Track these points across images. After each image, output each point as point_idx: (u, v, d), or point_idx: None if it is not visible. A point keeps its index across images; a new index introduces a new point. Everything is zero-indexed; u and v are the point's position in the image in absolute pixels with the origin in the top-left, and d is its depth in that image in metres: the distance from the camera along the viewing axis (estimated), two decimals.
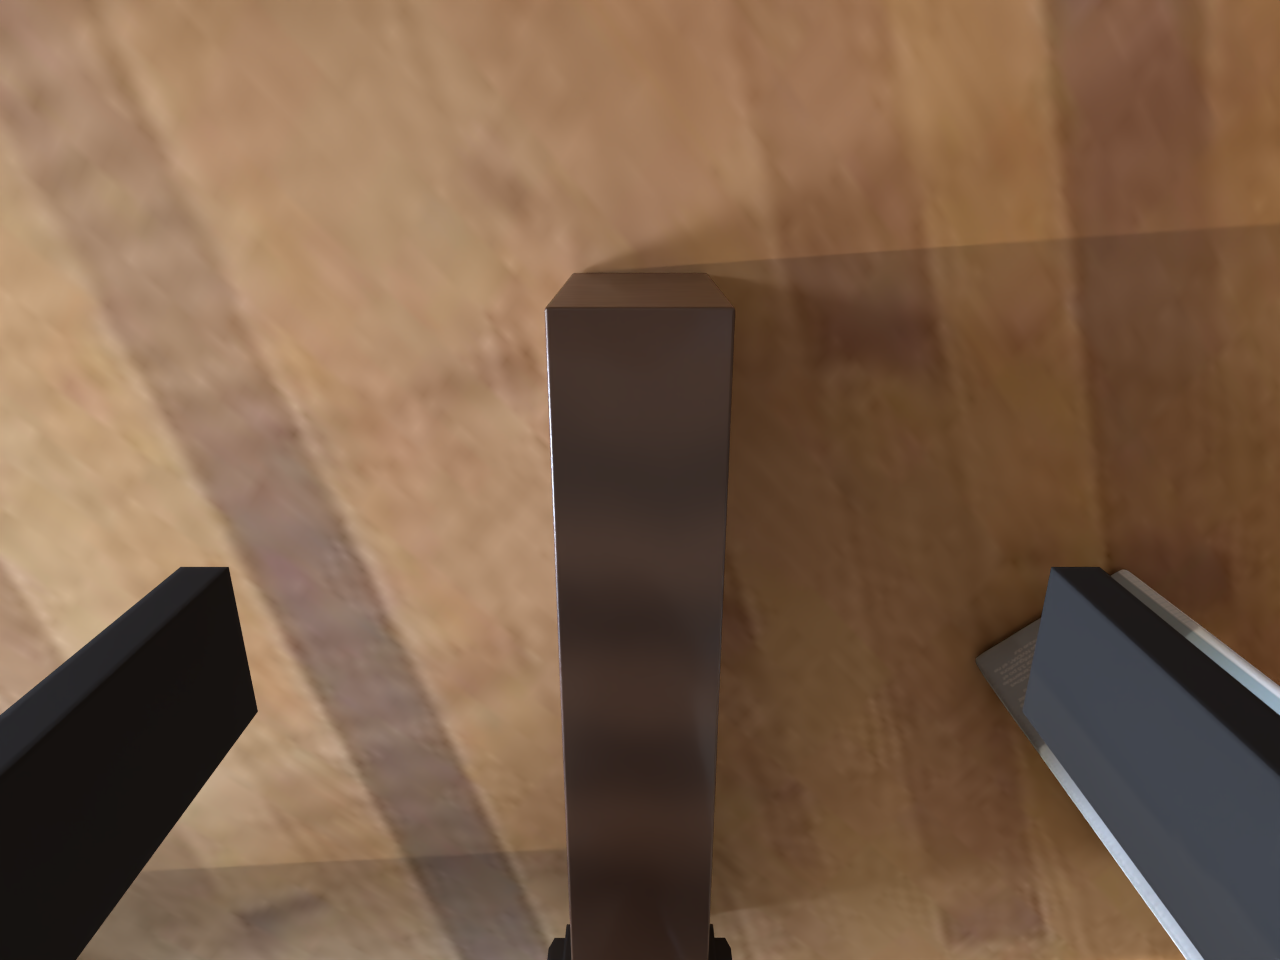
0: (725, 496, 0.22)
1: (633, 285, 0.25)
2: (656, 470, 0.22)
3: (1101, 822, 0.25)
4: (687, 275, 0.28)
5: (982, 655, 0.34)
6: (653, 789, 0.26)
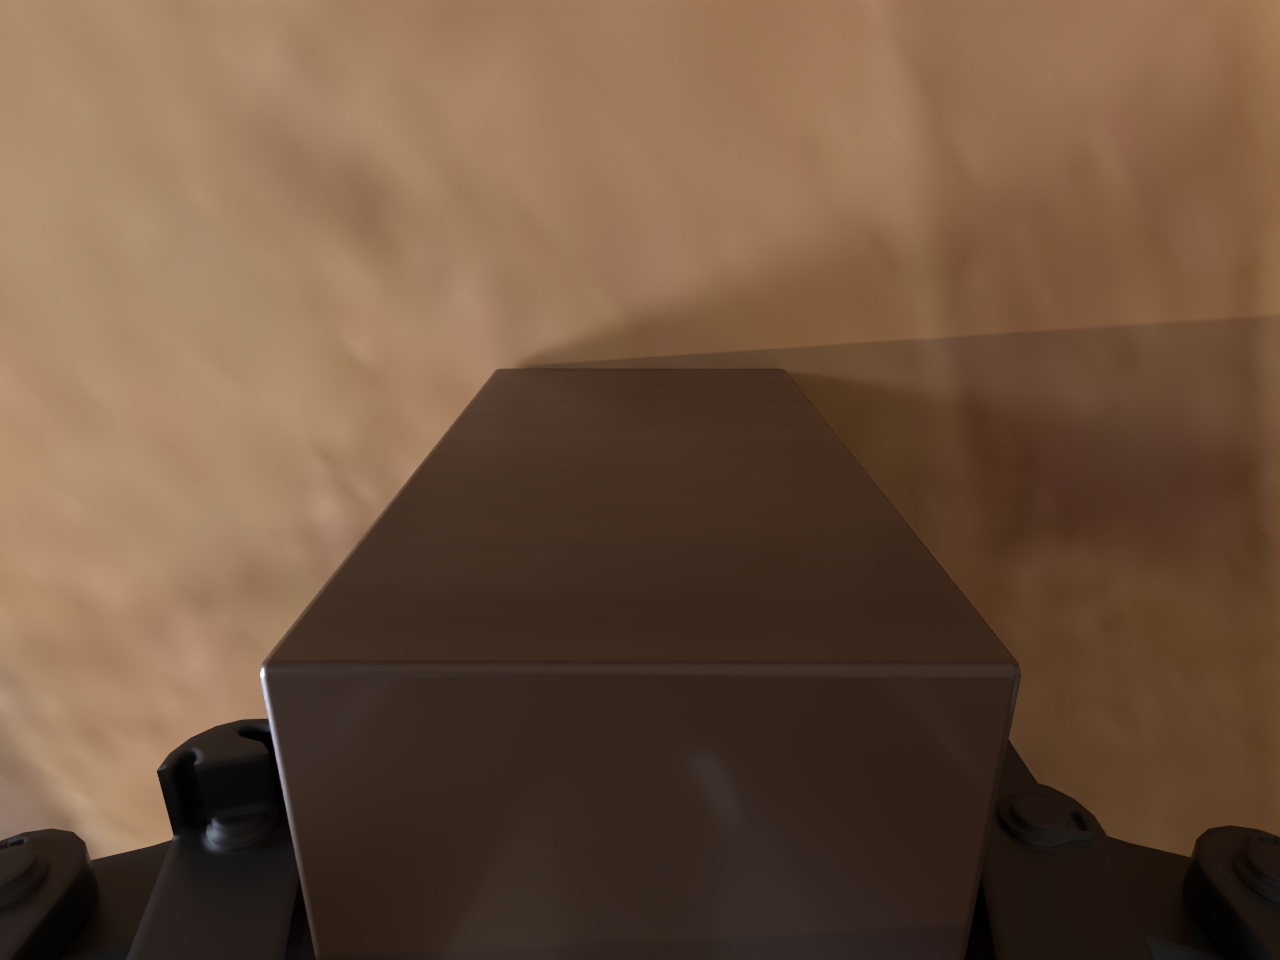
0: None
1: (623, 436, 0.10)
2: None
3: None
4: (746, 379, 0.13)
5: None
6: None
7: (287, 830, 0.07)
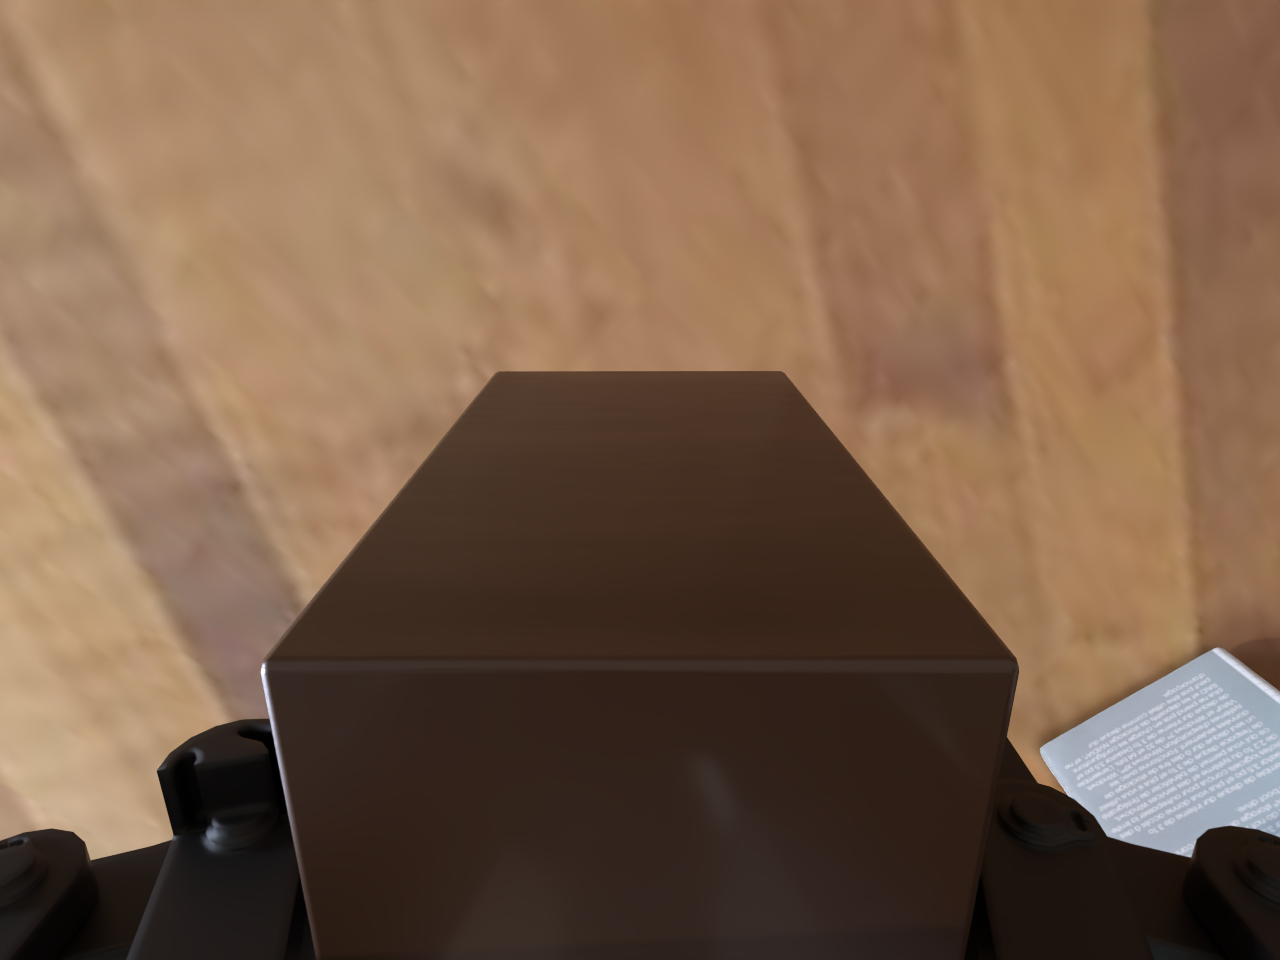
0: None
1: (623, 437, 0.10)
2: None
3: None
4: (745, 381, 0.13)
5: (1048, 745, 0.29)
6: None
7: (287, 830, 0.07)
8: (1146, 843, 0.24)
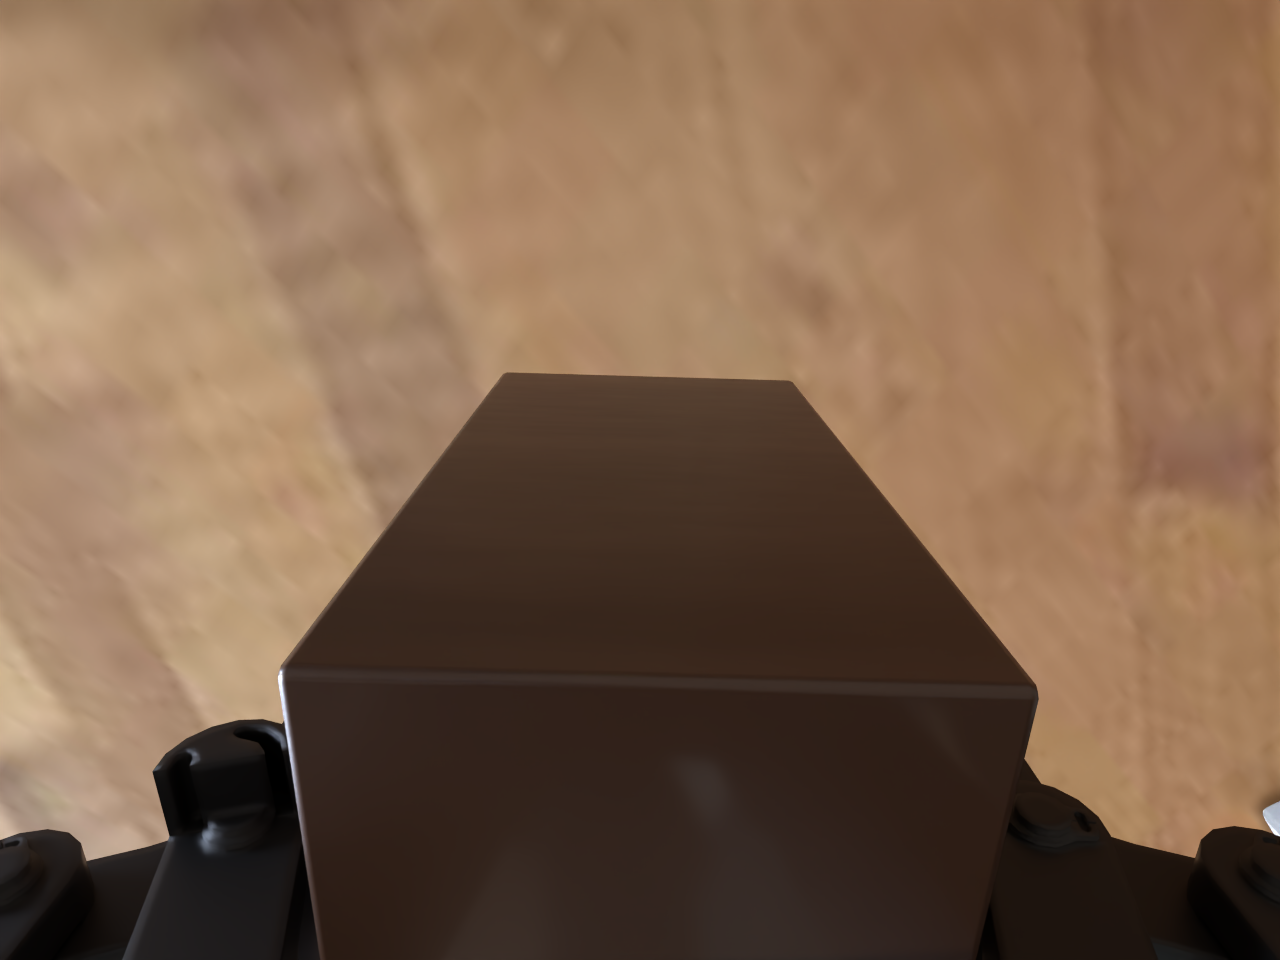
0: None
1: (634, 445, 0.10)
2: None
3: None
4: (753, 390, 0.13)
5: (1272, 808, 0.30)
6: None
7: (283, 830, 0.07)
8: None
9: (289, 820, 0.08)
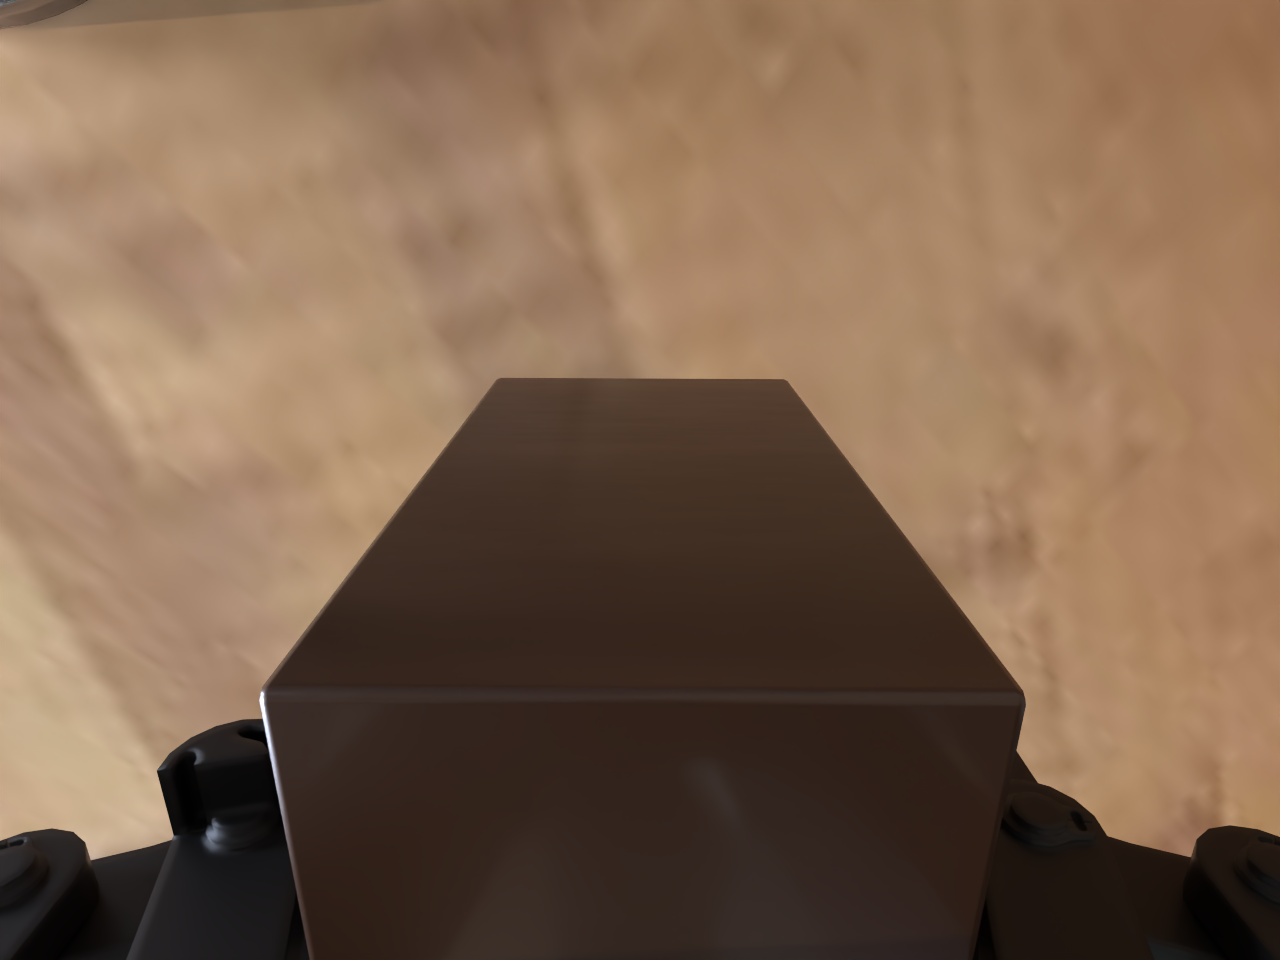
0: None
1: (625, 449, 0.10)
2: None
3: None
4: (747, 390, 0.13)
5: None
6: None
7: None
8: None
9: None
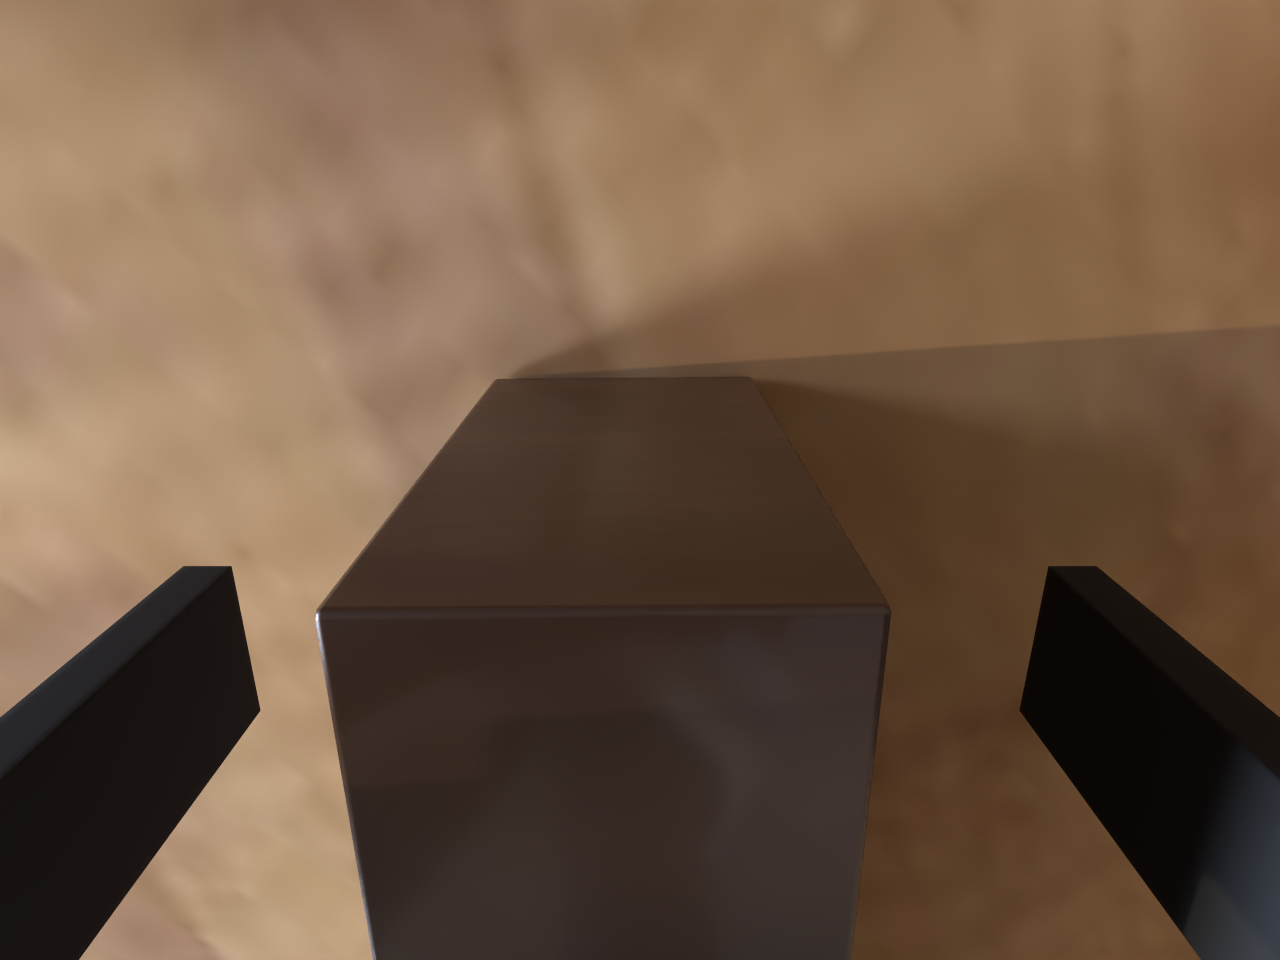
0: None
1: (603, 438, 0.11)
2: None
3: None
4: (715, 387, 0.14)
5: None
6: None
7: None
8: None
9: None
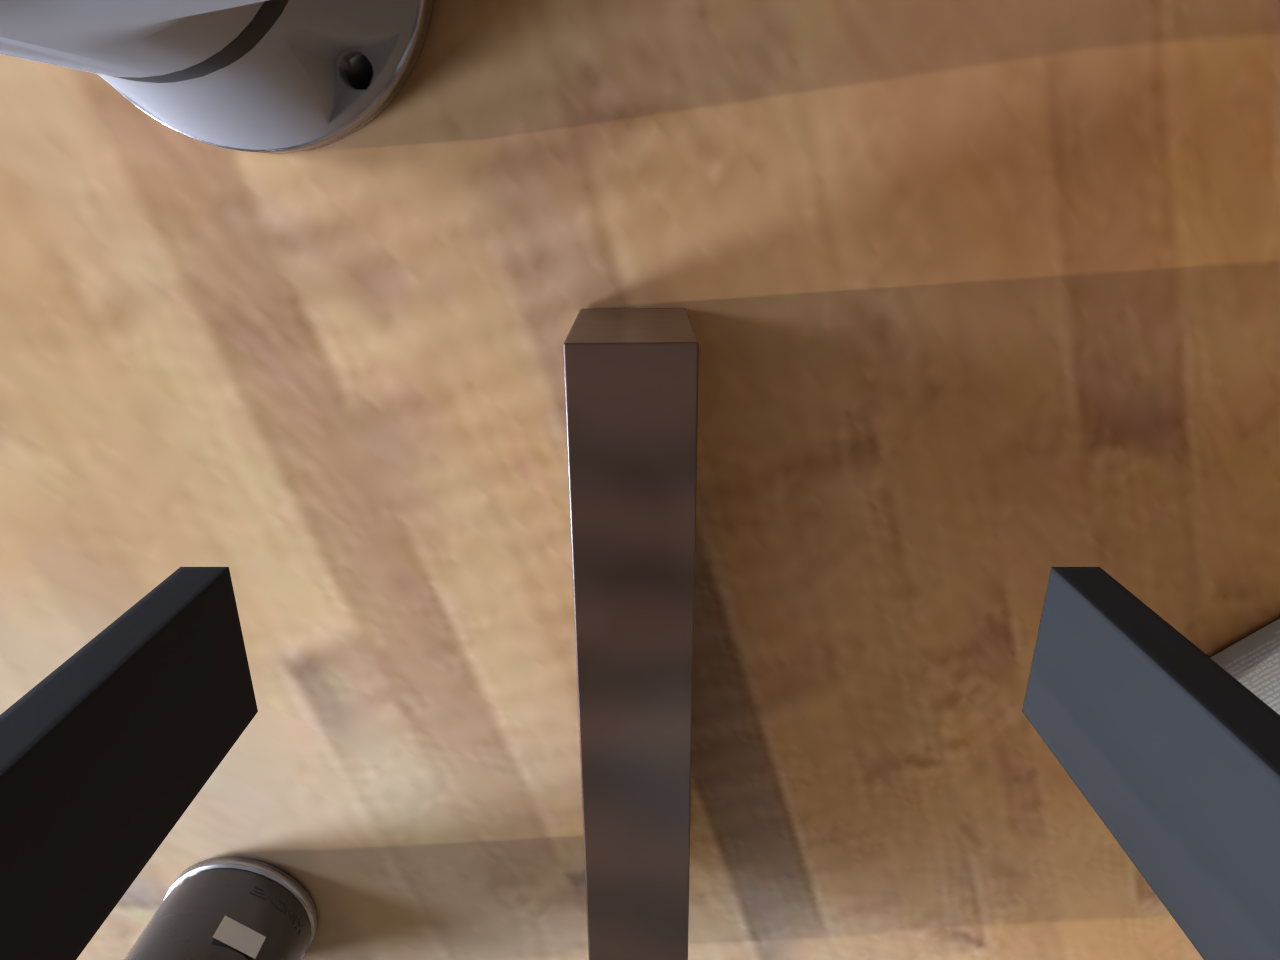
0: (694, 477, 0.31)
1: (627, 321, 0.34)
2: (644, 459, 0.30)
3: None
4: (669, 310, 0.36)
5: None
6: (645, 701, 0.34)
7: None
8: None
9: None
